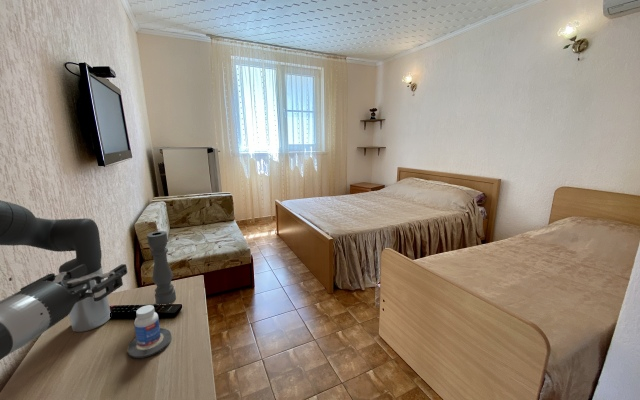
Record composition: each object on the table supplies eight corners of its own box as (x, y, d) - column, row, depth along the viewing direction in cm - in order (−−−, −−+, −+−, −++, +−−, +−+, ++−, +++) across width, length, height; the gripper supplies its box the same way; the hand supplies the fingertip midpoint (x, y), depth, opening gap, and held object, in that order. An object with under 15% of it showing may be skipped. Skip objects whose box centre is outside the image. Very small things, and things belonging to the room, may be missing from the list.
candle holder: (161, 296, 95) (151, 231, 89) (179, 295, 95) (170, 230, 90) (152, 306, 89) (141, 237, 83) (171, 305, 89) (162, 236, 84)
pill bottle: (149, 350, 68) (144, 317, 66) (132, 346, 69) (126, 314, 67) (165, 335, 73) (161, 304, 71) (149, 332, 74) (144, 302, 72)
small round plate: (119, 353, 69) (118, 349, 68) (153, 328, 78) (153, 325, 78) (146, 363, 66) (146, 359, 65) (179, 336, 75) (179, 332, 74)
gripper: (64, 294, 40) (135, 251, 56) (-31, 295, 39) (68, 252, 55) (73, 337, 41) (140, 283, 57) (-18, 338, 41) (75, 284, 57)
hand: (105, 268), depth 56 cm, fingers open, 8 cm apart
